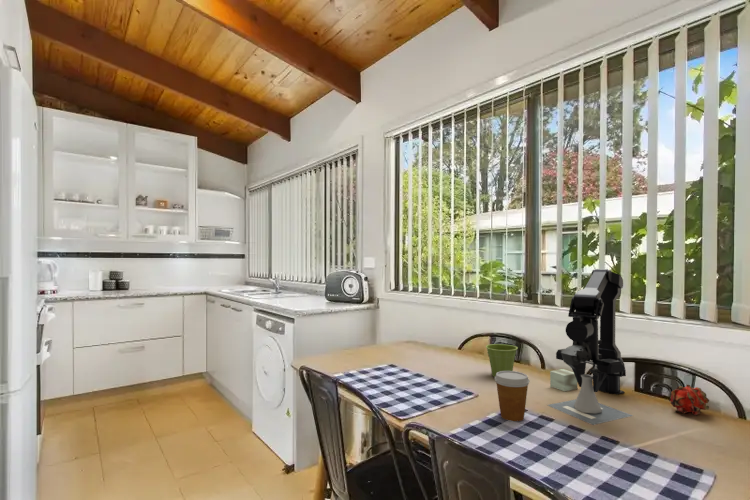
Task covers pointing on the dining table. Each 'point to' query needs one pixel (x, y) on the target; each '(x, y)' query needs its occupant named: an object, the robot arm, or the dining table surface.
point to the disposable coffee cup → (512, 394)
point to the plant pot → (501, 357)
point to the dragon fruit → (689, 399)
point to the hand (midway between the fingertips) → (588, 389)
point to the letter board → (593, 419)
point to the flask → (587, 397)
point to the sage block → (563, 380)
